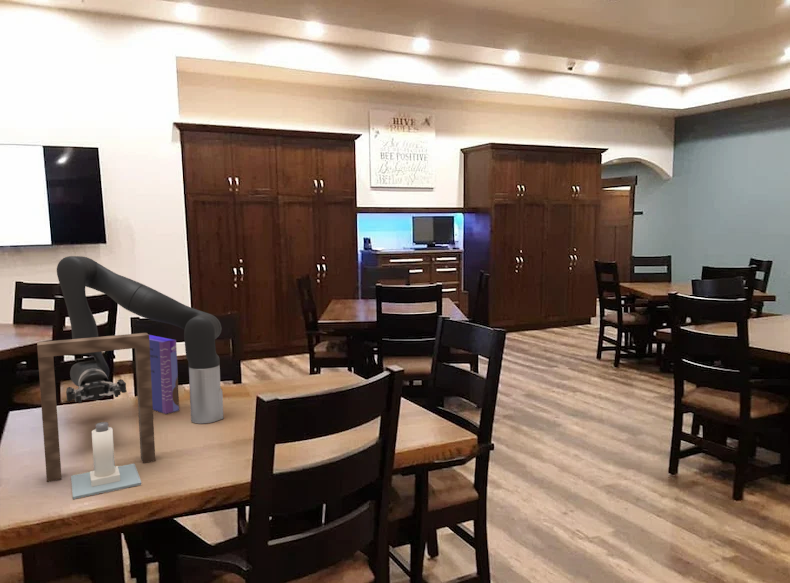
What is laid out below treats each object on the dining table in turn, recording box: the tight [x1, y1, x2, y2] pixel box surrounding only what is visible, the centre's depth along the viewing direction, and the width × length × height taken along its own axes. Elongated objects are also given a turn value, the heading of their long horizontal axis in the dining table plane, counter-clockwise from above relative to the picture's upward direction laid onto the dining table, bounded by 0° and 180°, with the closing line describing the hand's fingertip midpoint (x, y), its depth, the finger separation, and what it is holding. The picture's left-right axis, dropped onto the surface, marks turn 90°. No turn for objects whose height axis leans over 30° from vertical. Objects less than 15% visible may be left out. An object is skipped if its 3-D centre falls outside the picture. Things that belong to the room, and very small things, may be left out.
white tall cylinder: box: [89, 421, 120, 487], centre depth 134 cm, size 6×6×14 cm
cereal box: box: [149, 334, 180, 415], centre depth 191 cm, size 17×5×24 cm, turn 52°
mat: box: [70, 463, 142, 500], centre depth 135 cm, size 14×13×1 cm
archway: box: [36, 332, 156, 483], centre depth 141 cm, size 24×4×33 cm, turn 121°
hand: (98, 396), depth 148 cm, fingers open, 8 cm apart
